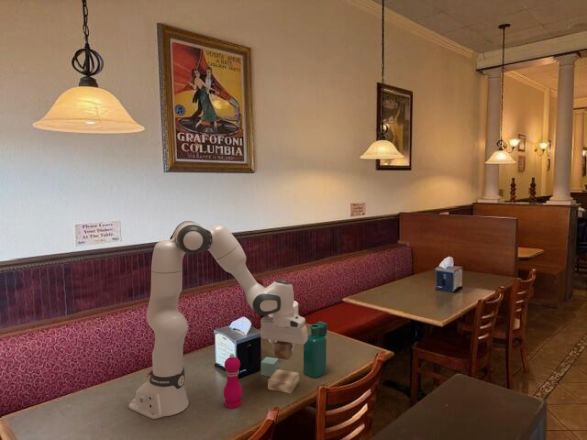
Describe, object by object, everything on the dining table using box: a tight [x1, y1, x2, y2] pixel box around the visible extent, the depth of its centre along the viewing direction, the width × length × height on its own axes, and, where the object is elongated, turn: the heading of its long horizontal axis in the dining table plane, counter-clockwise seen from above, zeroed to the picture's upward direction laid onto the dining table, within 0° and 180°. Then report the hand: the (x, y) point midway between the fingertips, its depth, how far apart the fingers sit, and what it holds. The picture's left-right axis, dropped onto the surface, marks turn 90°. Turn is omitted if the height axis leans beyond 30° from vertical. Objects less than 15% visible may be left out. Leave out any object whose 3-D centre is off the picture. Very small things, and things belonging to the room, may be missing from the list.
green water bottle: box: [302, 321, 328, 379], centre depth 184 cm, size 10×8×22 cm
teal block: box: [260, 356, 280, 378], centre depth 184 cm, size 6×6×6 cm
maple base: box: [267, 368, 300, 394], centre depth 173 cm, size 10×10×4 cm
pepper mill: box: [222, 353, 243, 409], centre depth 159 cm, size 7×7×20 cm
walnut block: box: [273, 341, 294, 361], centre depth 172 cm, size 6×6×6 cm
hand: (283, 351), depth 172 cm, fingers closed on walnut block, 6 cm apart
